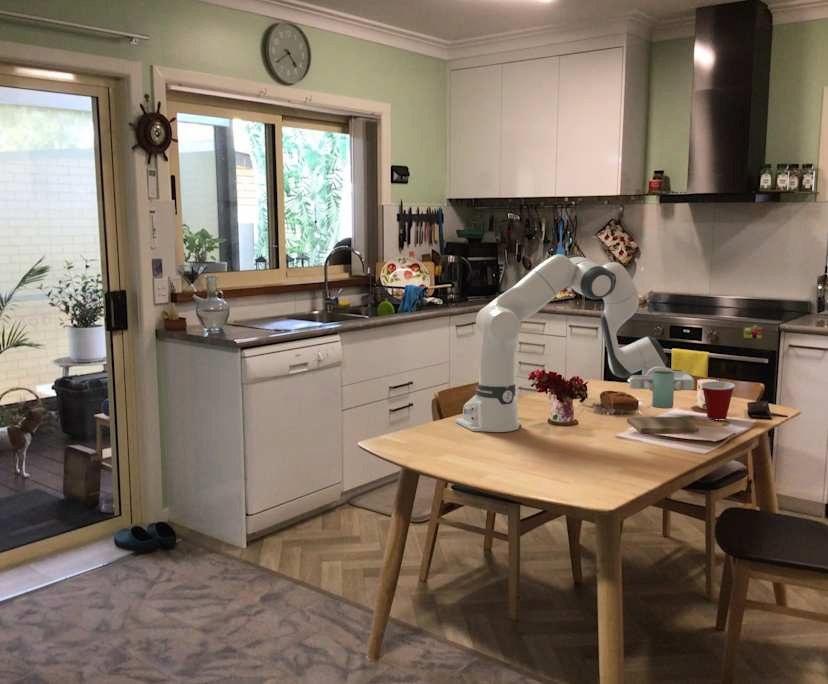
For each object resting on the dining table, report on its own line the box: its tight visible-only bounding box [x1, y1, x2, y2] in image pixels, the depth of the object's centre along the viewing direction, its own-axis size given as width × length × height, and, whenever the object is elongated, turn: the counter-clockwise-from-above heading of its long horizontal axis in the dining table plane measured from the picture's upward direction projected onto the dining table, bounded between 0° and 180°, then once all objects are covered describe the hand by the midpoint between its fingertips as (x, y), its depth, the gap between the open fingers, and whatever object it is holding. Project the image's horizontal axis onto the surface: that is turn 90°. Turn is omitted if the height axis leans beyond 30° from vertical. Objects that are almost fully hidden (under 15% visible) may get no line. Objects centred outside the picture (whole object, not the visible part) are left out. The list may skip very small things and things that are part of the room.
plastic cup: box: [700, 380, 736, 421], centre depth 269 cm, size 11×11×12 cm
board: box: [626, 416, 700, 434], centre depth 258 cm, size 18×16×2 cm
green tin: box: [651, 371, 675, 410], centre depth 257 cm, size 6×6×11 cm
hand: (663, 386), depth 256 cm, fingers closed on green tin, 6 cm apart
